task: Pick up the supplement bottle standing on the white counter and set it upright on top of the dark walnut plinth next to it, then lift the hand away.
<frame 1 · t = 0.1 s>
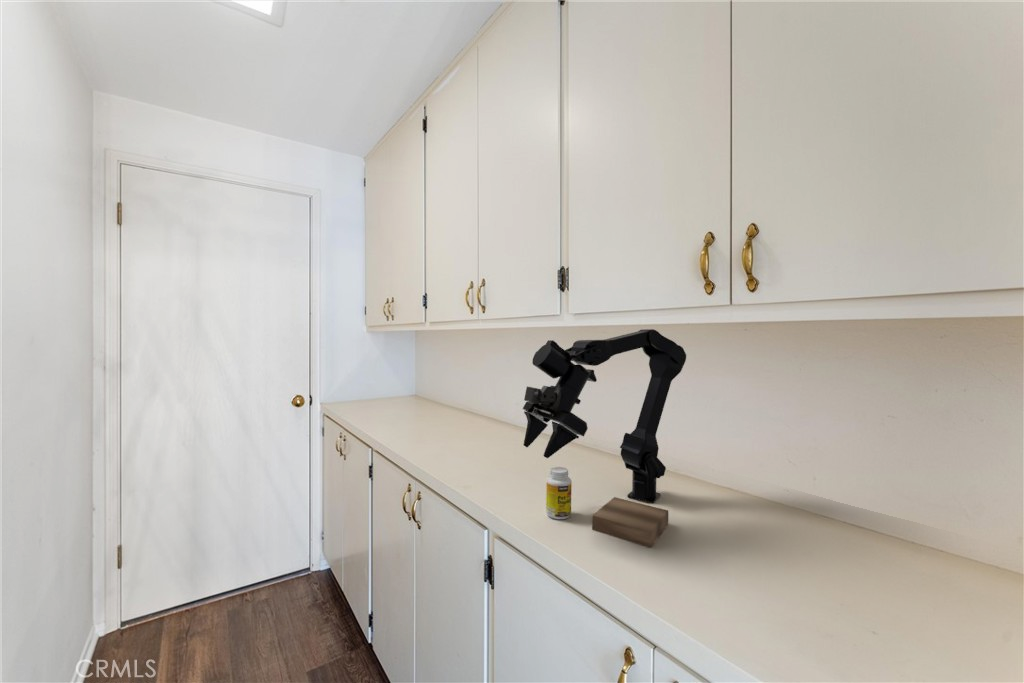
hand: (534, 451, 88), 15 cm above the worktop, tool tilted 30°, fingers open, 9 cm apart
walnut plinth: (630, 527, 85), on the worktop
supplement bottle: (558, 515, 91), on the worktop
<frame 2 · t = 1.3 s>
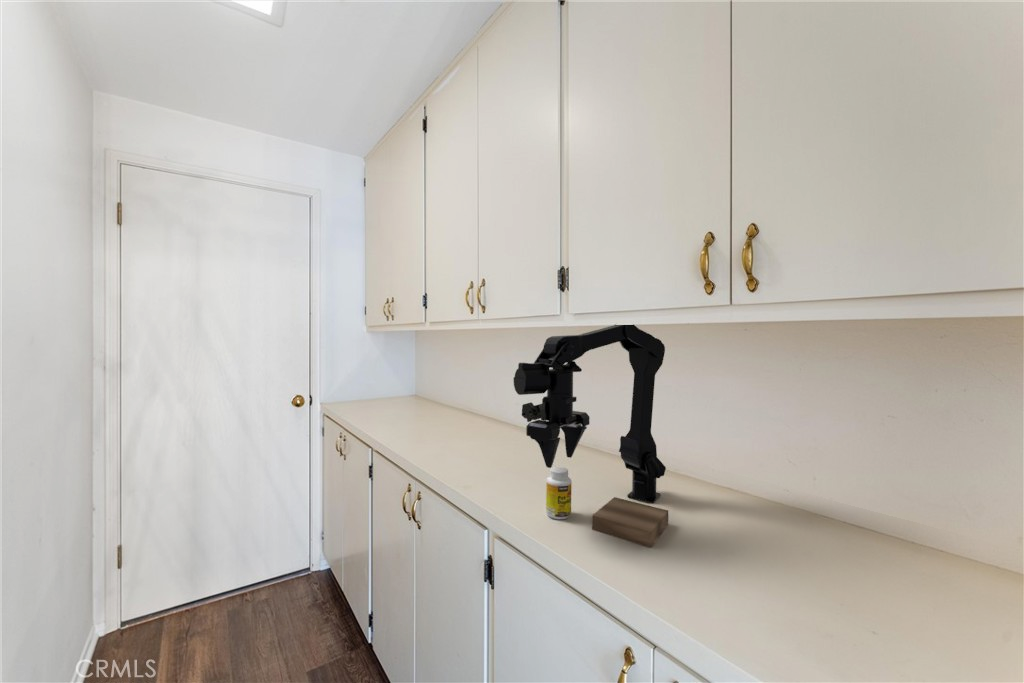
hand: (559, 462, 91), 12 cm above the worktop, tool pointing down, fingers open, 9 cm apart
nothing on the worktop moved.
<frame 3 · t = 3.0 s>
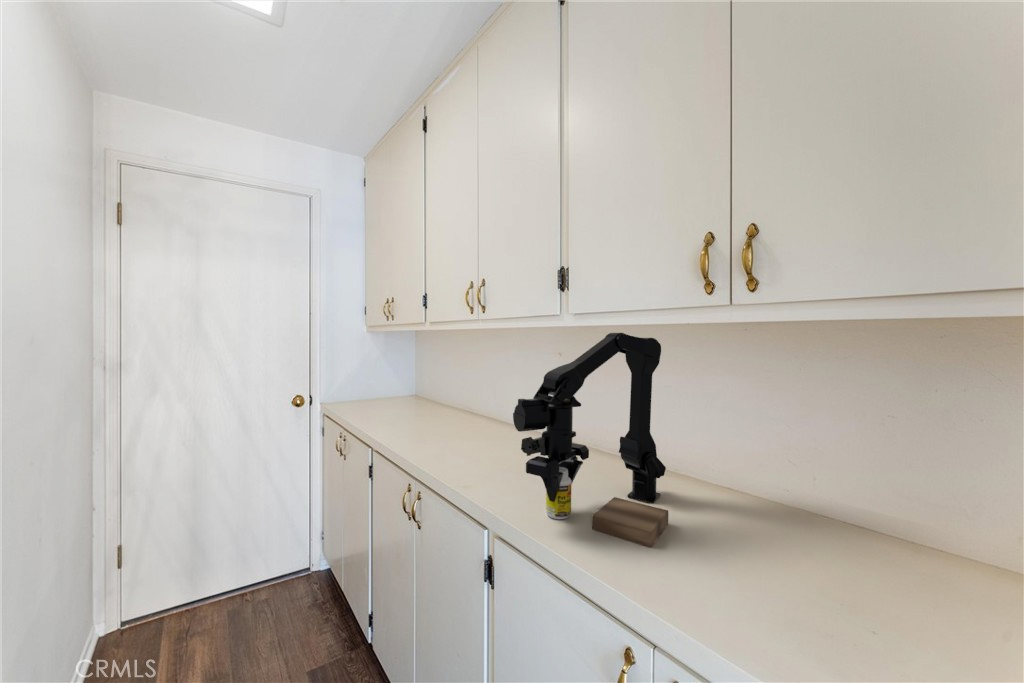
hand: (558, 496, 91), 4 cm above the worktop, tool pointing down, fingers closed on supplement bottle, 6 cm apart
supplement bottle: (558, 515, 91), on the worktop, touching gripper
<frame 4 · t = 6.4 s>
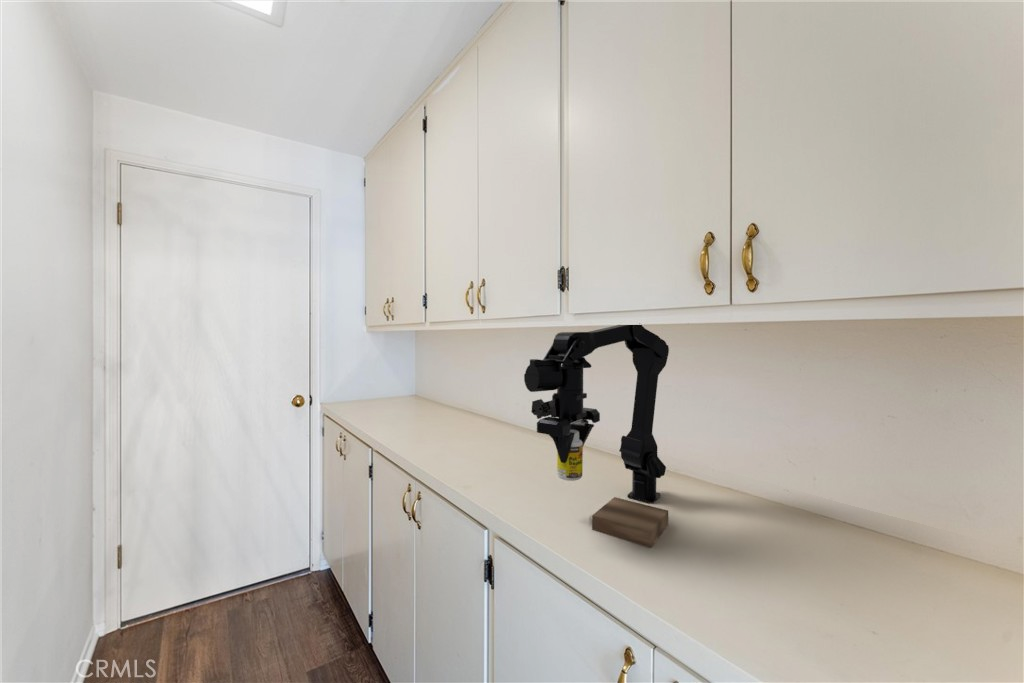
hand: (570, 459, 90), 13 cm above the worktop, tool pointing down, fingers closed on supplement bottle, 6 cm apart
supplement bottle: (569, 478, 90), point 9 cm above the worktop, touching gripper
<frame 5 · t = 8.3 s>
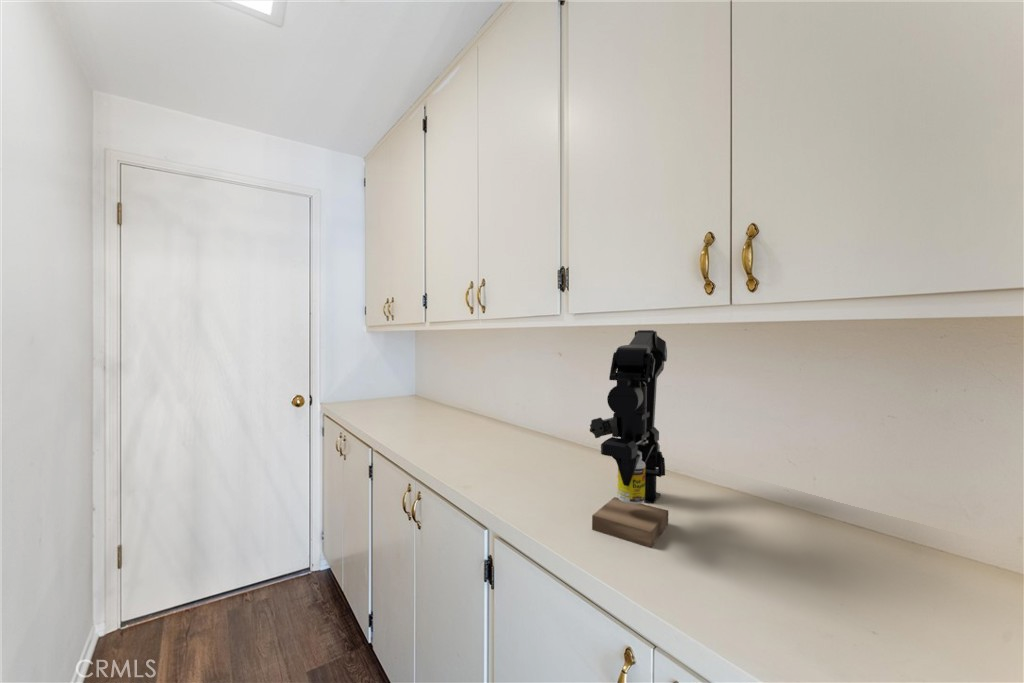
hand: (631, 481, 85), 10 cm above the worktop, tool pointing down, fingers closed on supplement bottle, 6 cm apart
supplement bottle: (631, 501, 85), point 5 cm above the worktop, touching gripper
when the fingers open (8 cm above the worktop, at t = 9.7 s): supplement bottle drops 1 cm, resting on walnut plinth.
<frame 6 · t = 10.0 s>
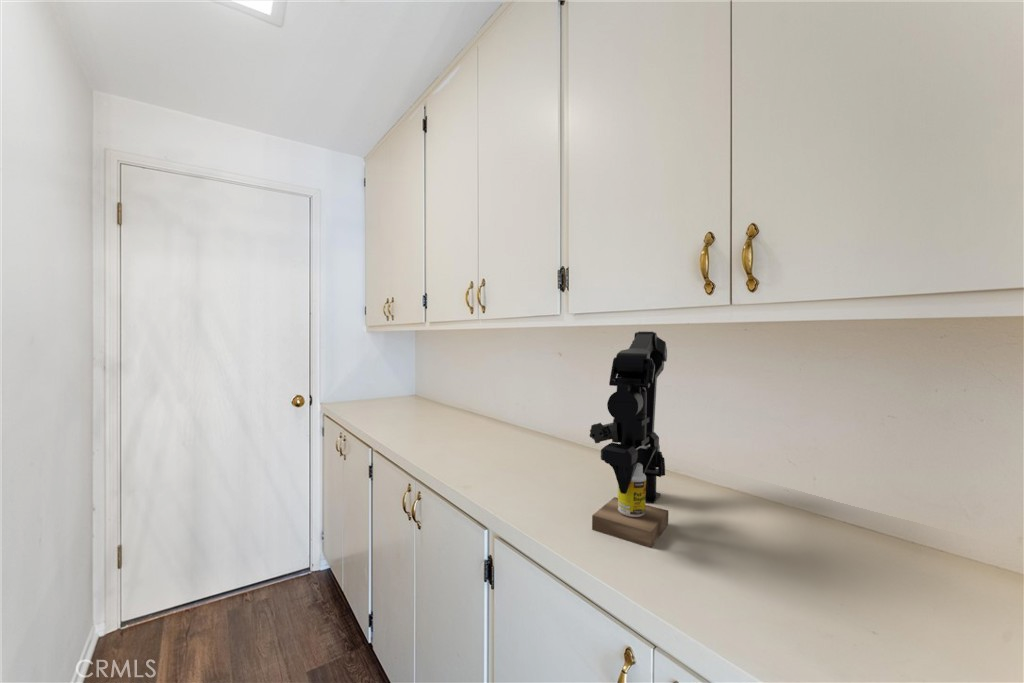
hand: (631, 486, 85), 8 cm above the worktop, tool pointing down, fingers open, 9 cm apart
supplement bottle: (631, 513, 85), point 3 cm above the worktop, touching walnut plinth
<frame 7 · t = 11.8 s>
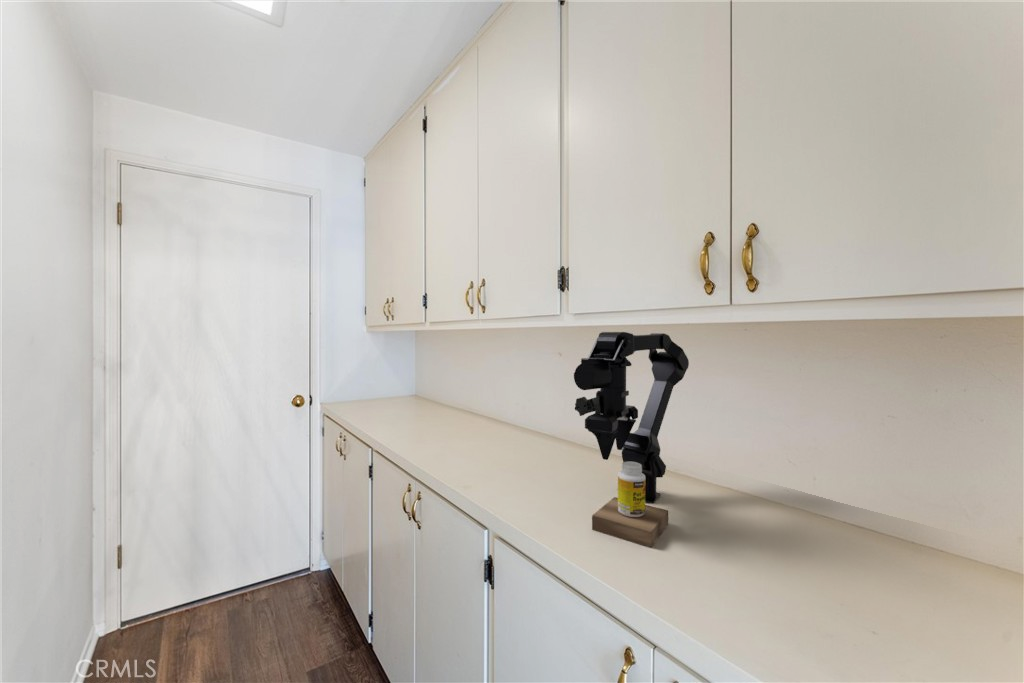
hand: (612, 454, 93), 13 cm above the worktop, tool pointing down, fingers open, 9 cm apart
nothing on the worktop moved.
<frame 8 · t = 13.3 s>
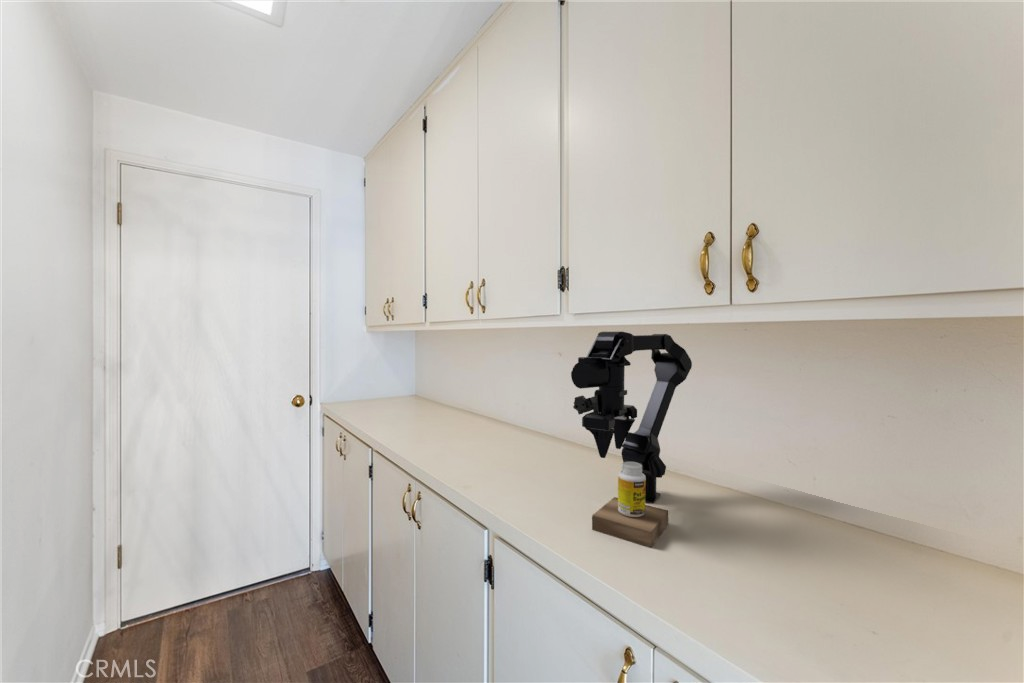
hand: (610, 453, 94), 13 cm above the worktop, tool pointing down, fingers open, 9 cm apart
nothing on the worktop moved.
at the end: supplement bottle inside the target area on the walnut plinth (0.1 cm from its centre), point 2.8 cm above the walnut plinth's base; supplement bottle tilted 0°; the gripper is holding nothing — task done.
